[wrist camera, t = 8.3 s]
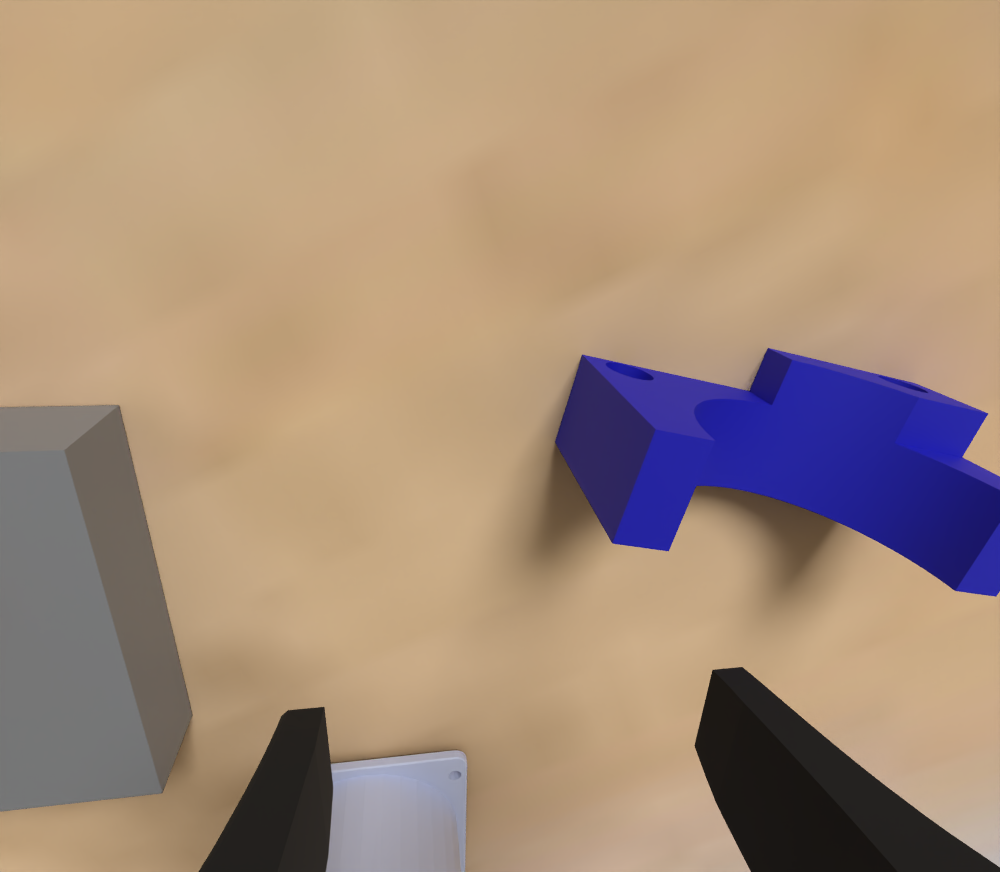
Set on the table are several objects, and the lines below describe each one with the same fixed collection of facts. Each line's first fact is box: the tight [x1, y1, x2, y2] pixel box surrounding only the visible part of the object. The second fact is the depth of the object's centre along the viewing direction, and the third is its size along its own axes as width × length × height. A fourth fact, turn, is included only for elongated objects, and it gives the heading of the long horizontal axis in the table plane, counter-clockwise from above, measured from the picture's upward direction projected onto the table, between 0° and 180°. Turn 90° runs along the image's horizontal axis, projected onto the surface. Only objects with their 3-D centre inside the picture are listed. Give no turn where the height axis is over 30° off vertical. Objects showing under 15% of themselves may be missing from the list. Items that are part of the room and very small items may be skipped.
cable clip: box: [555, 348, 1000, 596], centre depth 17 cm, size 12×4×6 cm, turn 76°
